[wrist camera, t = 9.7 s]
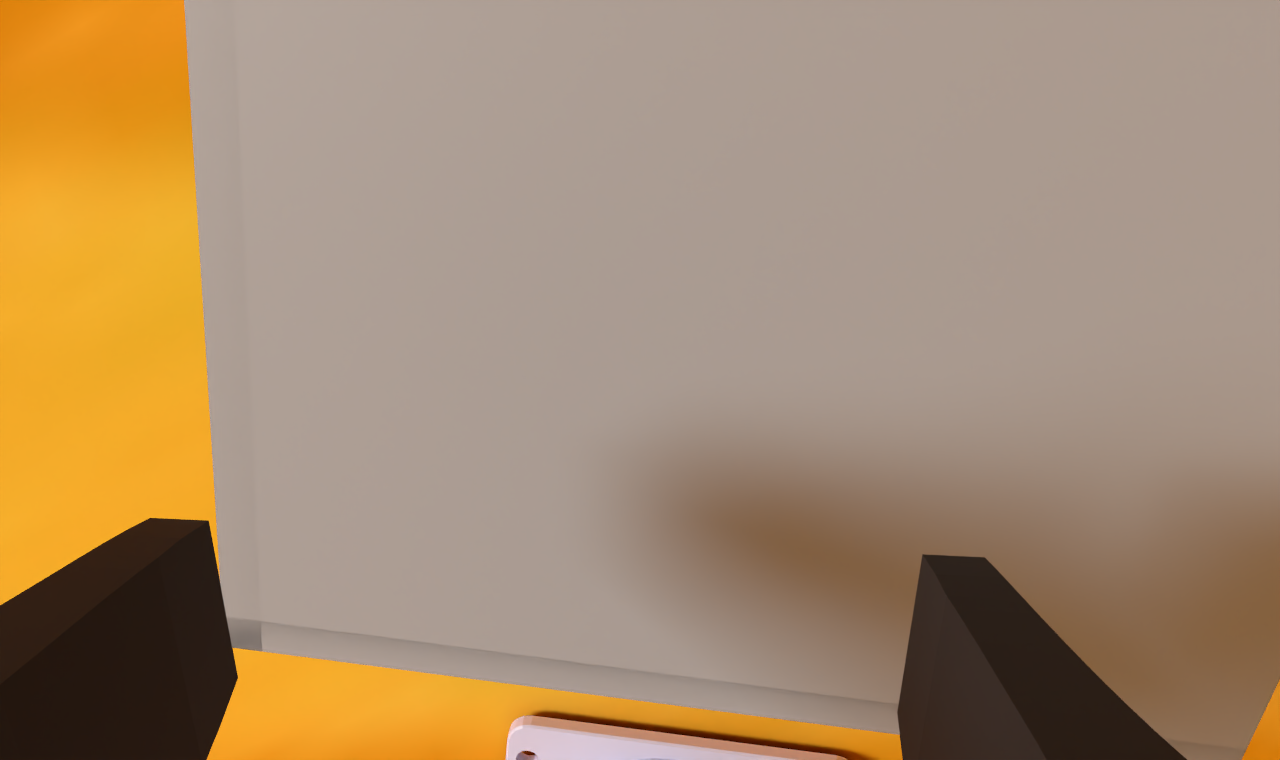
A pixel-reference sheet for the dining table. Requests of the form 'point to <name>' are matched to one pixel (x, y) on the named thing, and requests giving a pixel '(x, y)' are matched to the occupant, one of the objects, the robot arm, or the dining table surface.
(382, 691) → the dining table surface
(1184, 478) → the carton
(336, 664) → the dining table surface
